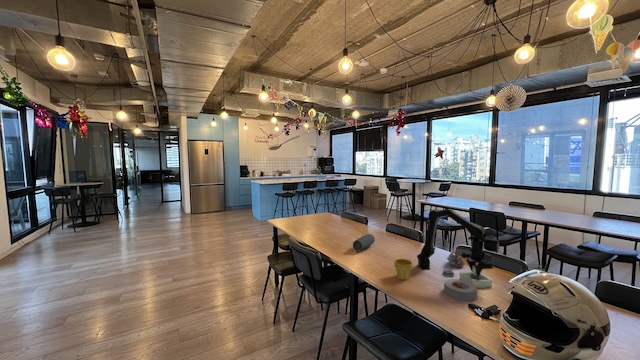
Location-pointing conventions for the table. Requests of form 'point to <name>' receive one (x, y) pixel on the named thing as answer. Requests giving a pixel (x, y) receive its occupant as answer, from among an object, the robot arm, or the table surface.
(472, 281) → the bin
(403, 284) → the table surface
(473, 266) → the brass cabinet knob
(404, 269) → the plant pot
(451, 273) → the disc with square block
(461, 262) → the carburetor
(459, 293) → the tape roll
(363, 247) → the bluetooth speaker
